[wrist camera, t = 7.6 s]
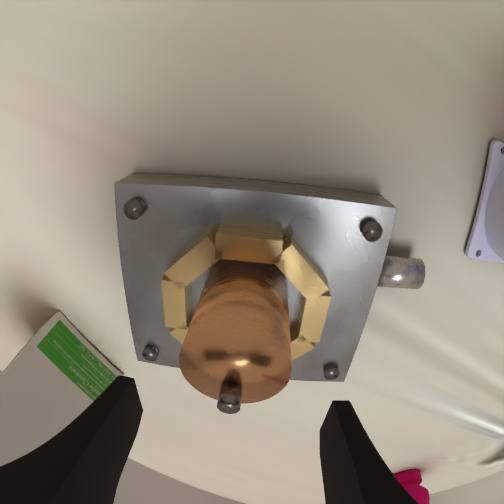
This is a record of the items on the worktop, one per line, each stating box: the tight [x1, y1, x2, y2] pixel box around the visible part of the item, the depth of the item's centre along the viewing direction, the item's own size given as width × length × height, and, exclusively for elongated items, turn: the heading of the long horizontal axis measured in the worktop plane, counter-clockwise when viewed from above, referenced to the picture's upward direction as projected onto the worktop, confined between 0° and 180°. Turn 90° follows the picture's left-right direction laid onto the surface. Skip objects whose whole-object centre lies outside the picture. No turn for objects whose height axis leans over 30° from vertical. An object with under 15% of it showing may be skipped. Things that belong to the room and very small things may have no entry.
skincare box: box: [0, 311, 123, 466], centre depth 17 cm, size 8×7×16 cm
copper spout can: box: [179, 260, 292, 414], centre depth 14 cm, size 4×4×7 cm
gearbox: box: [114, 173, 425, 382], centre depth 17 cm, size 17×12×4 cm
